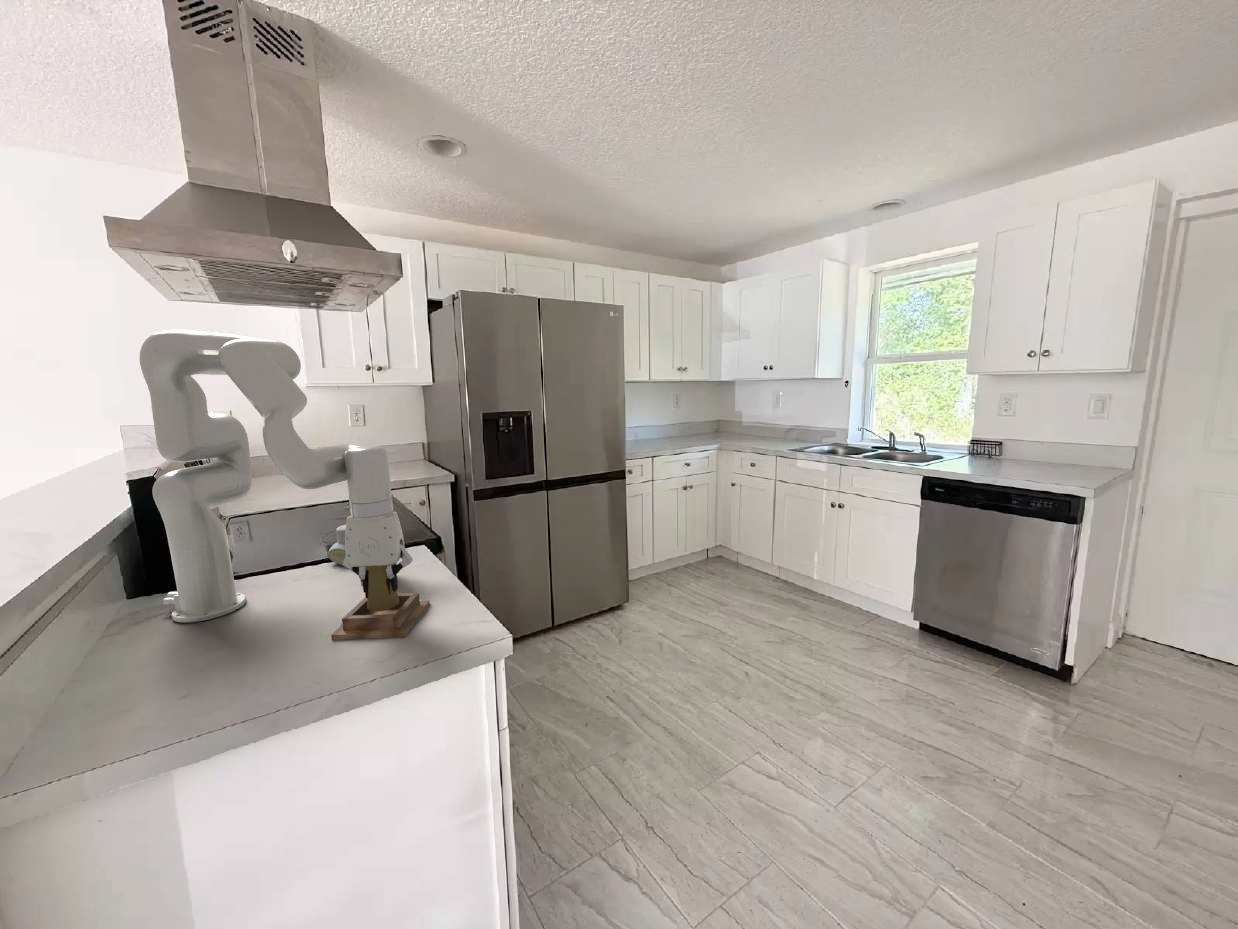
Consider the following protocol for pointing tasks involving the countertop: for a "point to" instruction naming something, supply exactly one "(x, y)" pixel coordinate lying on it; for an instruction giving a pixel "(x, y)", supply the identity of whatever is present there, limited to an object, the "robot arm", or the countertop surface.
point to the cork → (380, 590)
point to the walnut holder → (382, 619)
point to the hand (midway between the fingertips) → (381, 594)
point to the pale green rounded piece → (338, 546)
